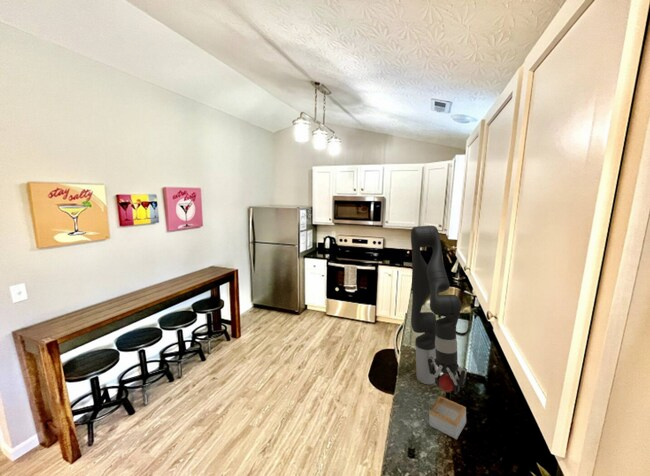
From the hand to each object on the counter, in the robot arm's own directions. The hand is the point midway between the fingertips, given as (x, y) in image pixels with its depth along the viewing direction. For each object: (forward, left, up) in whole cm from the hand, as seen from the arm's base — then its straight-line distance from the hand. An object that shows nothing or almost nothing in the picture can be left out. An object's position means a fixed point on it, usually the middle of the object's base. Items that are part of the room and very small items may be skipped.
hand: (447, 388), depth 104 cm
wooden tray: (-2, 0, -15) cm, 15 cm away
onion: (0, 0, -1) cm, 1 cm away
